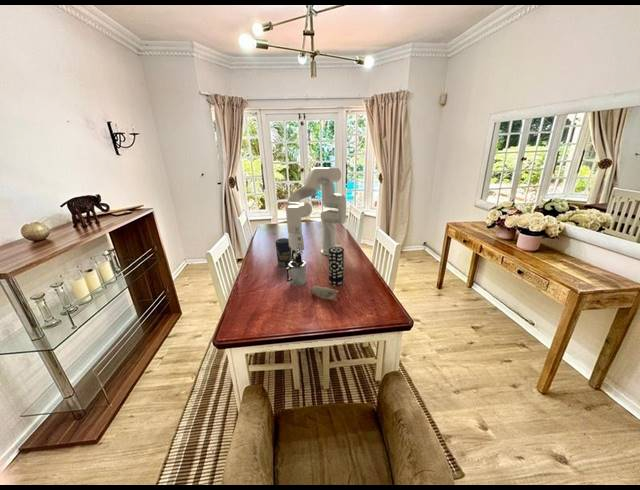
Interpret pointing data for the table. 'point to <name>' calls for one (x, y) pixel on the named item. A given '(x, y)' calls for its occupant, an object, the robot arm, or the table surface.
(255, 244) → the table surface
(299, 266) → the press carafe
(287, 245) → the canister
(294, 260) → the plunger
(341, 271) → the spotted tube
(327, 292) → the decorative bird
